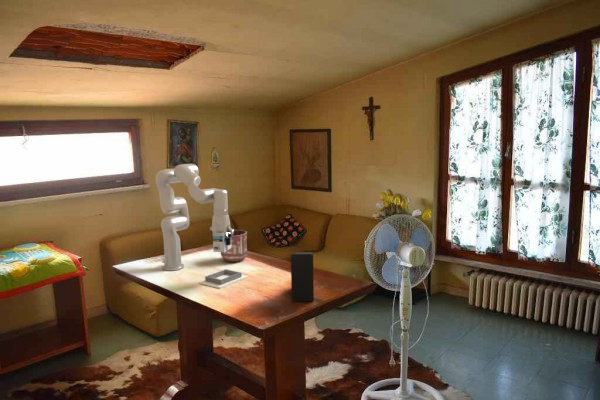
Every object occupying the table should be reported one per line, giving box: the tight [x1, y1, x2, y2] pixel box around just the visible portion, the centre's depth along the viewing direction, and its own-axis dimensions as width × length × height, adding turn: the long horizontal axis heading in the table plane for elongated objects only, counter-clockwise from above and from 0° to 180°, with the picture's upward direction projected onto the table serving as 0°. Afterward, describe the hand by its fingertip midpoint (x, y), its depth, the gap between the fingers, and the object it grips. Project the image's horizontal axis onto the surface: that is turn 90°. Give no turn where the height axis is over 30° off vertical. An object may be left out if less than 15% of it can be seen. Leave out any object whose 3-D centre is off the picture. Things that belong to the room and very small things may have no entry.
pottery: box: [220, 229, 248, 264], centre depth 287 cm, size 18×18×18 cm
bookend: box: [290, 251, 315, 302], centre depth 225 cm, size 23×11×24 cm, turn 179°
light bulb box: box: [212, 231, 231, 253], centre depth 245 cm, size 11×7×11 cm, turn 167°
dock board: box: [198, 269, 249, 289], centre depth 248 cm, size 16×22×3 cm
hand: (222, 243), depth 246 cm, fingers closed on light bulb box, 8 cm apart
